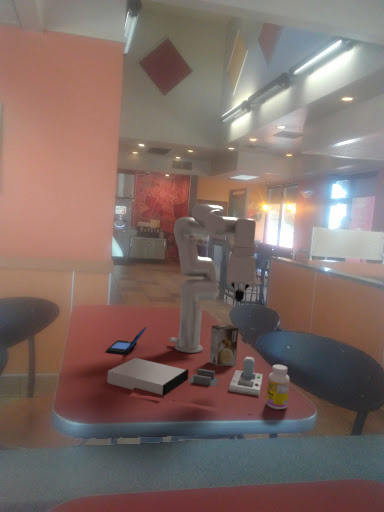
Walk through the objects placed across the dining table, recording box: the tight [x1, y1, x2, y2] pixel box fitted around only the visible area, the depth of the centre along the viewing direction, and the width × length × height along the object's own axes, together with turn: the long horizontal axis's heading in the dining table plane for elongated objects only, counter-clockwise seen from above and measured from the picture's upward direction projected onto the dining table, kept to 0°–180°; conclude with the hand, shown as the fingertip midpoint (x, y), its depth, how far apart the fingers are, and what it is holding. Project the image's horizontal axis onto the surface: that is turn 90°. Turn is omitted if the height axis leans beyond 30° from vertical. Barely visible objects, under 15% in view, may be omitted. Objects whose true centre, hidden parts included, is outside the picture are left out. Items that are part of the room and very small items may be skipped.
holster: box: [187, 368, 220, 387], centre depth 149 cm, size 10×8×4 cm
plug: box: [242, 356, 256, 379], centre depth 151 cm, size 4×4×10 cm
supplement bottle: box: [265, 364, 291, 410], centre depth 134 cm, size 7×7×13 cm
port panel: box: [228, 369, 264, 400], centre depth 148 cm, size 10×16×3 cm, turn 166°
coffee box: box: [208, 324, 239, 367], centre depth 169 cm, size 9×6×16 cm
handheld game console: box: [106, 326, 147, 356], centre depth 182 cm, size 16×13×9 cm
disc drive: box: [106, 357, 190, 400], centre depth 146 cm, size 18×22×5 cm
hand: (238, 301), depth 155 cm, fingers closed
